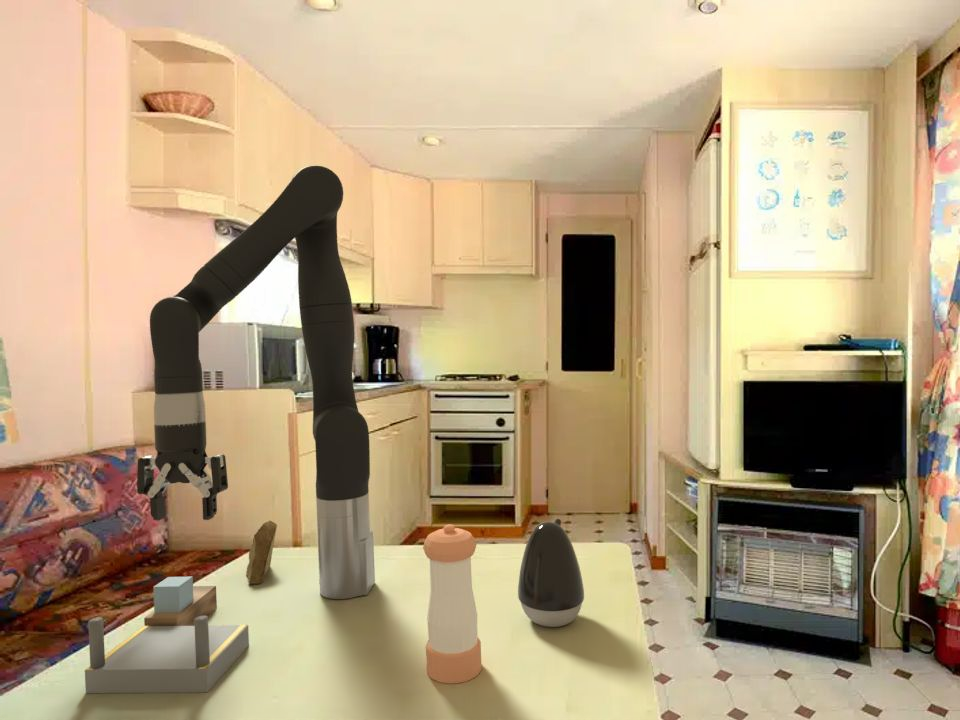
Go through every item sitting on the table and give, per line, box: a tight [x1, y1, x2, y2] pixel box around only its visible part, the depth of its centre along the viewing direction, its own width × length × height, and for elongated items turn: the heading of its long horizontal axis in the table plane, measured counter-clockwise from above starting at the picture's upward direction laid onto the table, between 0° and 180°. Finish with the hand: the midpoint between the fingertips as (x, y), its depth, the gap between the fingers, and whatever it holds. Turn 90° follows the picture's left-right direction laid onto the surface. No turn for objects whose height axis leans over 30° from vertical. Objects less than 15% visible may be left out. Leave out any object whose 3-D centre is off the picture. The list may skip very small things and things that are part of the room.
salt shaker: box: [422, 523, 483, 684], centre depth 78 cm, size 7×7×19 cm
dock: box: [84, 615, 250, 694], centre depth 81 cm, size 16×12×9 cm
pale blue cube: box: [152, 575, 194, 613], centre depth 92 cm, size 4×4×4 cm
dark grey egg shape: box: [517, 518, 585, 628], centre depth 92 cm, size 10×10×15 cm
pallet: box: [143, 585, 218, 626], centre depth 95 cm, size 12×5×4 cm, turn 177°
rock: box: [245, 520, 278, 585], centre depth 115 cm, size 11×9×10 cm
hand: (183, 519), depth 97 cm, fingers open, 8 cm apart
